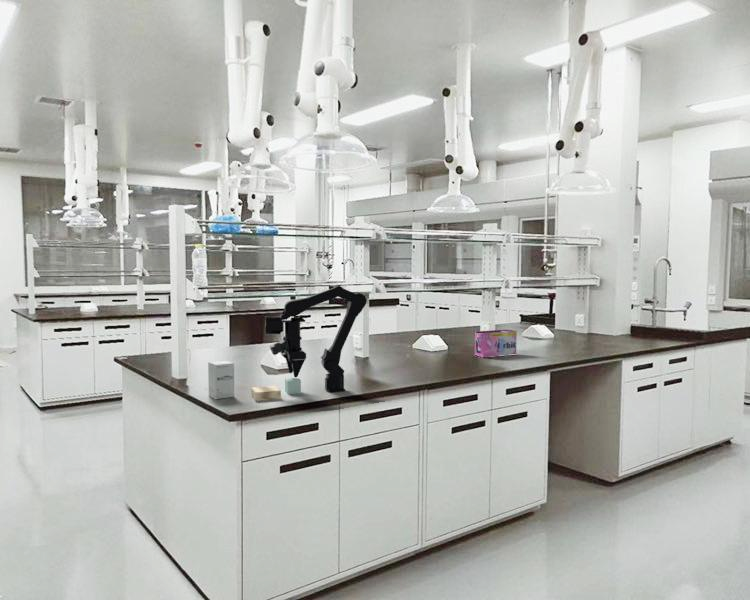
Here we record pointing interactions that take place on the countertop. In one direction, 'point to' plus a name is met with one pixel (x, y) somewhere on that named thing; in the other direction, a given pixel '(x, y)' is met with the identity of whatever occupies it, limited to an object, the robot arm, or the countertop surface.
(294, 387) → the teal cube
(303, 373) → the countertop surface
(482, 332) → the gum box
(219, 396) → the supplement box
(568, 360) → the countertop surface
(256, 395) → the beech block
